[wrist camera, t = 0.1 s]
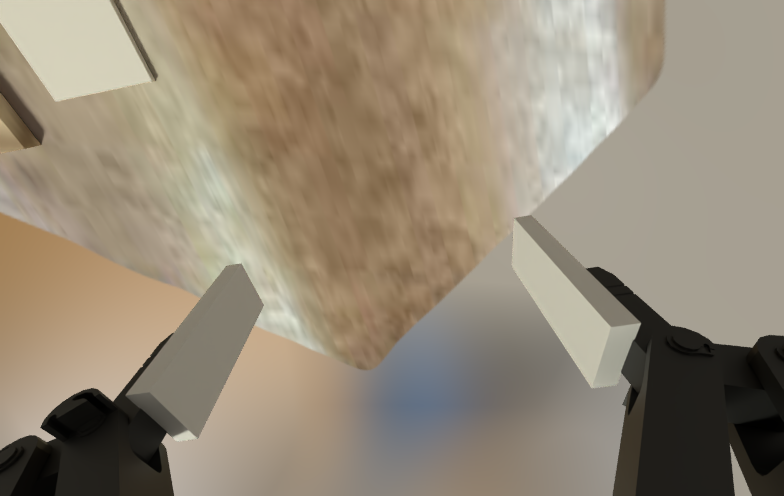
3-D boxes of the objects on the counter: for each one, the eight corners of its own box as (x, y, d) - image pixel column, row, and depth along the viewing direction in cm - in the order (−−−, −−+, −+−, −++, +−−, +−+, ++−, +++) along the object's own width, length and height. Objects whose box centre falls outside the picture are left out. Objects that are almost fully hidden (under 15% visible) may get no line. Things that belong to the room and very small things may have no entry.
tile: (-34, -36, 28) (-42, -38, 28) (80, -64, 28) (74, -66, 27) (60, 101, 35) (55, 101, 34) (155, 81, 34) (152, 81, 33)
